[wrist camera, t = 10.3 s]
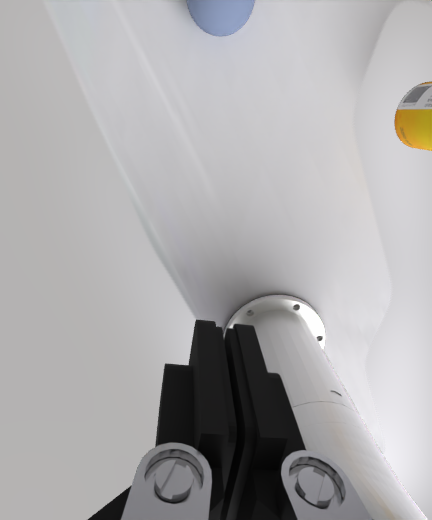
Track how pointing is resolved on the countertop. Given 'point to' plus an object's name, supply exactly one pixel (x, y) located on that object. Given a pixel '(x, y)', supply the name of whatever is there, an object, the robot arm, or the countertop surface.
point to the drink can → (416, 117)
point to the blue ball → (220, 15)
